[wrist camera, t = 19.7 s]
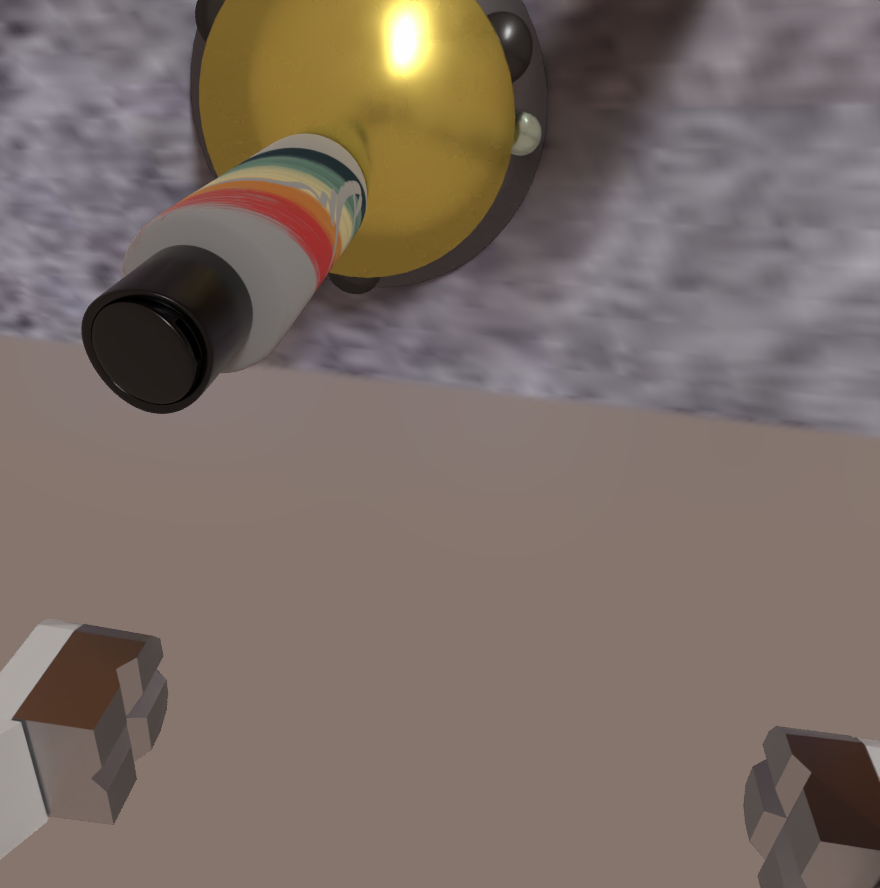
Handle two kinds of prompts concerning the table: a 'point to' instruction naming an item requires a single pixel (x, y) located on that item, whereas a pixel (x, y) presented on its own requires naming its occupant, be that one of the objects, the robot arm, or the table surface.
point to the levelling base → (384, 114)
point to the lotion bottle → (224, 273)
